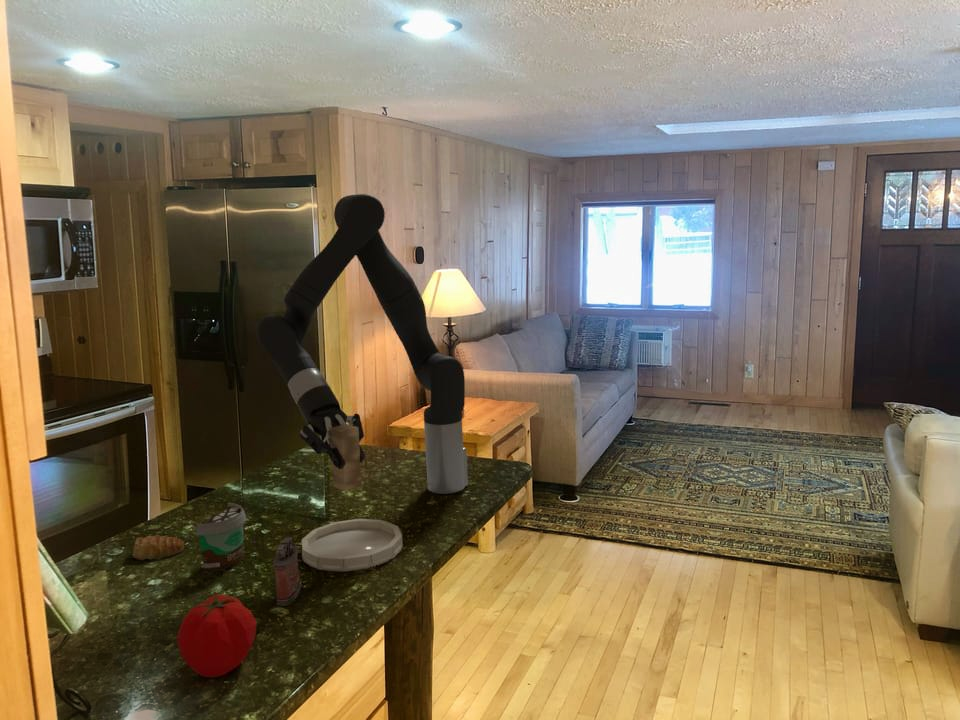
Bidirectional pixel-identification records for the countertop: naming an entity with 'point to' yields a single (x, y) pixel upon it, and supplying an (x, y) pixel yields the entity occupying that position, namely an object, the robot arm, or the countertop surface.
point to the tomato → (216, 635)
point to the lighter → (286, 572)
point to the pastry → (156, 547)
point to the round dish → (351, 545)
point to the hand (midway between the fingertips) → (352, 463)
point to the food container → (222, 538)
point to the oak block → (347, 457)
